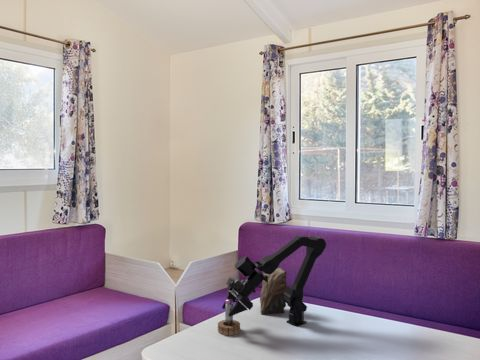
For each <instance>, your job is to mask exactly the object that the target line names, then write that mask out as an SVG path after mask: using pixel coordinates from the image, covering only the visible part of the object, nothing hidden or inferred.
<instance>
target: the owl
mask: <svg viewBox="0 0 480 360" xmlns="http://www.w3.org/2000/svg"><path fill="white" fill-rule="evenodd" d="M262 274H263V275H267V276H268V283H266V282H265V281H264V280H263V281H262V282H261V284H262V285H261V291H260V293H259V302H260V315H262V316H263V315H277V314H285V308H286V307H287V303H286V302H285V301H284V294H283V293H284V292H285V290H286V287H287V286H288V285H287V274H288V273H287V271H286V270H284V269H283V268H282V267H278V268H277V269H276V270H275V271H274V272H273V273H272V274H265V273H264V272H263V273H262Z"/></svg>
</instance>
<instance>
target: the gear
mask: <svg viewBox="0 0 480 360" xmlns="http://www.w3.org/2000/svg"><path fill="white" fill-rule="evenodd" d="M217 332H218V334H220V335H224V336H234V335H237V334H239V333H240V332H241V323H240V321H238V320H235V319H233V326H225V319H224V320H220V321H218V323H217Z"/></svg>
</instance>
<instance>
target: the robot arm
mask: <svg viewBox="0 0 480 360" xmlns="http://www.w3.org/2000/svg"><path fill="white" fill-rule="evenodd" d="M301 247H306V248H305V251H306V252H305V256H304V258H303V261H302V263H301V265H300V268H299V270H298V271H297V274H296V276H295V278H294V281H293V284H291V285H290V286H289V285H286V286H287V287H286V290H285V292H284V293H283V294H284V301H285V302H286V306H287V307H289V313H288V320H286V323H288V324H291V325H293V326H296V327H299V326H302V325H304V324H306V323H308V322H307V320H305V312H306V311H307V308H308V306H307V305H306V304H305V303H304V302H303V299H304V288H305V285H306V284H307V281H308V279H309V277H310V274H311V273H312V270H313V268H314V265H315V263H316V261H317V259H318V258H319V257H320V256H321V255H322V254H323V253H324V251H325V249H326V248H327V242H326V240H325V239H324V238H322V237H319V236H316V235H313V236H302V235H300V234H299V235H296V236H294V238H292V239H291V240H290V241H288V242H286V244H285V245H283V246H281V248H280V249H278V250H277V251H276V252H274V253H272V254H270V255H269V254H268V255H265V256H264V257H262V258H260V260H258V261H252V260H251V259H250V258H249V257H248V256H247V255H244V256H243V257H242V258H240V259H238V260H237V262H236V263H235V264H234V268H235V269H236V270H237V271H238V272H239V273H240V274H241V275H242V276H243V277H246V278H245V279H241V280H238V279H235V278H232V277H230V276H229V278H228V280H227V282H226V285H227V287H226V288H227V290H226V292H227V296H226V298H225V300H226V299H233V304H234V303H235V304H234V305H233V308H232V310H231V311H230V313H229V314H228V315H229V316H230V317H231V316H233V317H234V316H235V315H238V314H240V313H242V312H245V311H248V310H249V311H251V310H252V308H254V303H253V302H252V301H251V300H250V298H249V297H250V296H251V295H252V294H253V293H254V294H255V293H256V292H257V291H256V289H257V288H258V287H259V286H260V285H261V284H262V282H263V280H264V281H265V282H266V283H268V276H267V275H263V274H264V273H265V274H272V273H273V272H274V271H275V270H276V269H277V268H279V266H280V265H281V263H282V262H283V261H284V260H286V259H287V258H288V257H290V256H291V255H292V254H293V253H295V252H296V251H298V249H300V248H301ZM221 308H222V309H223V310H224V309H225V301H224V302H223V305H222V307H221Z"/></svg>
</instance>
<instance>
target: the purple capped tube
mask: <svg viewBox="0 0 480 360" xmlns="http://www.w3.org/2000/svg"><path fill="white" fill-rule="evenodd" d="M224 302H225V312H224V313H225V316H224V317H225V319H224V320H225V326H233V320H234V315H233V316H231V317H230V316H229V315H228V314H229V313H230V311H231V310H232V308H233V307H234V303H233V299H226V298H225V301H224Z"/></svg>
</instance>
